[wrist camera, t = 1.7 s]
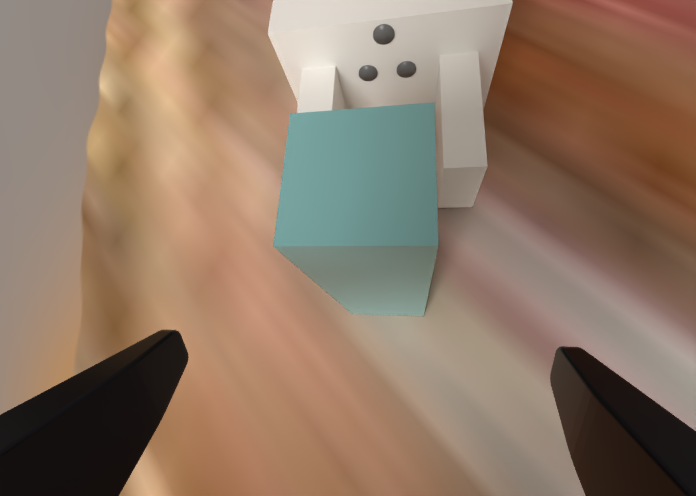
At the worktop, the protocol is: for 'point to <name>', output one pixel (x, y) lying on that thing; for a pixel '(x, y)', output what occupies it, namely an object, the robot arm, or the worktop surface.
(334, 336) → the worktop surface
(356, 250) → the teal rectangular block
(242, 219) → the worktop surface
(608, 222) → the worktop surface
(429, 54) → the socket
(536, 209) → the worktop surface
